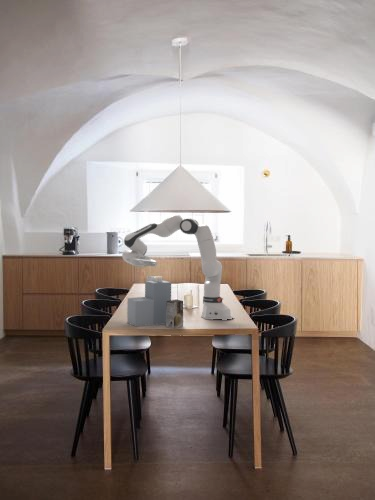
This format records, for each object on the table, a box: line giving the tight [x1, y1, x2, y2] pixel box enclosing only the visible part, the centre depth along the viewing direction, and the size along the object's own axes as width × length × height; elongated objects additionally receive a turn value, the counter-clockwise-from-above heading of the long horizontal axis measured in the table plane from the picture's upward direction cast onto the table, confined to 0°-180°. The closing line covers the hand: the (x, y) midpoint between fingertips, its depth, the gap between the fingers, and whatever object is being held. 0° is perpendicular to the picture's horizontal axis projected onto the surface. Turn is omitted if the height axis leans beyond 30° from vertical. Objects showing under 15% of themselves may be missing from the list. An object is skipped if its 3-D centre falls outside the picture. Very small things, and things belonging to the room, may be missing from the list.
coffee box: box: [165, 299, 184, 329], centre depth 299 cm, size 9×6×16 cm
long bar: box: [146, 275, 164, 282], centre depth 317 cm, size 20×4×4 cm, turn 28°
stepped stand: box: [126, 280, 172, 327], centre depth 310 cm, size 14×24×26 cm, turn 118°
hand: (149, 264), depth 324 cm, fingers open, 8 cm apart
